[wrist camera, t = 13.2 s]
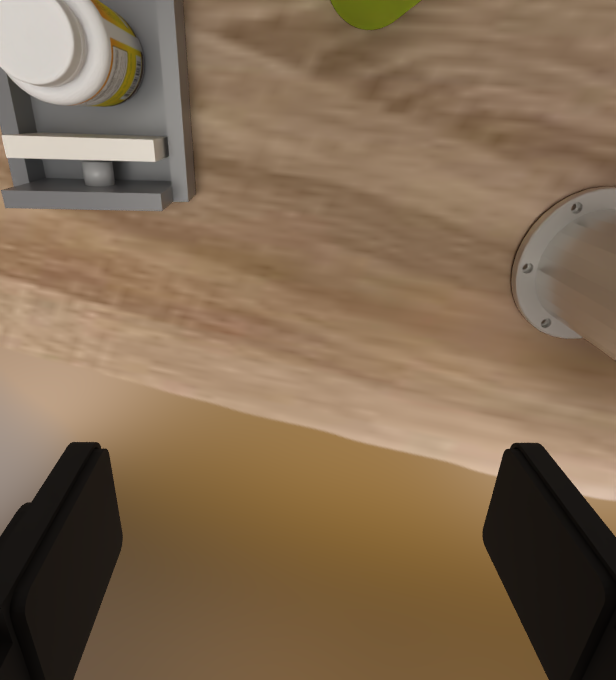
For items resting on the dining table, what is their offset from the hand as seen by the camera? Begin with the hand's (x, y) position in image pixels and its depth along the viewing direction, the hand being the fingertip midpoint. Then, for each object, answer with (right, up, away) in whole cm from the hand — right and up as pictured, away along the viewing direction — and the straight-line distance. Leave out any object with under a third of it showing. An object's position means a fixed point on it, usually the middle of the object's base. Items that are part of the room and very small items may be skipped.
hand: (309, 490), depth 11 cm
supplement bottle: (-13, +21, +19) cm, 31 cm away
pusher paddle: (-14, +17, +21) cm, 30 cm away
